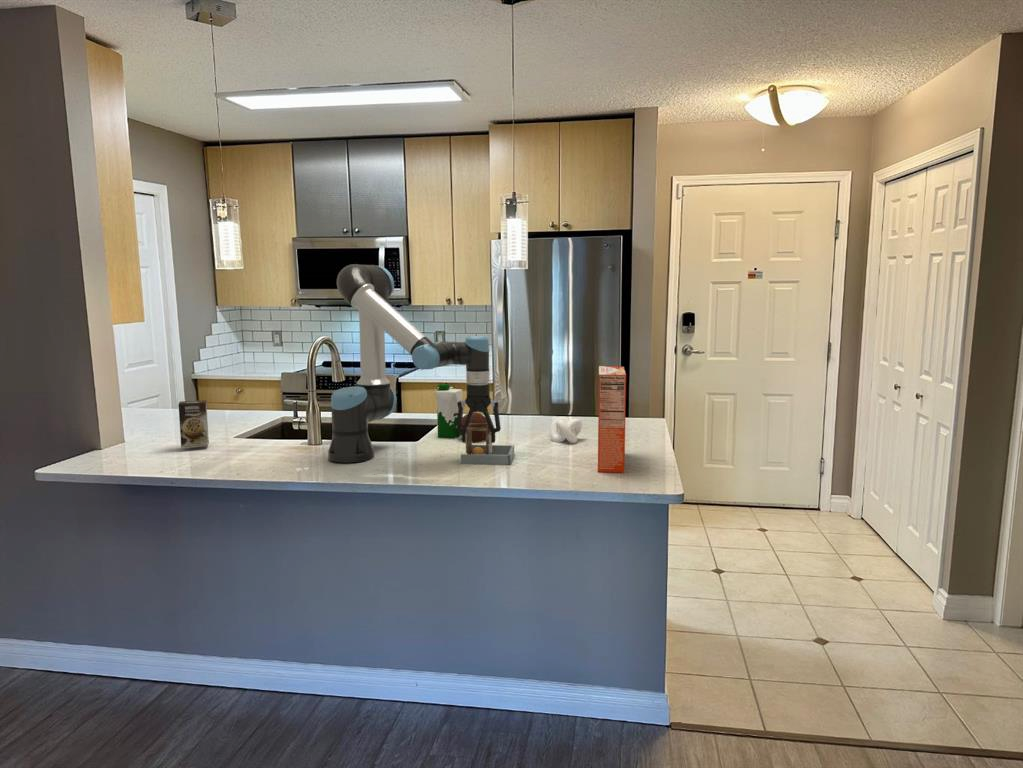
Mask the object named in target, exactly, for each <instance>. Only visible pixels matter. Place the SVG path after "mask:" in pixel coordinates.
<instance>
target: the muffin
mask: <svg viewBox="0 0 1023 768" xmlns="http://www.w3.org/2000/svg"><path fill="white" fill-rule="evenodd" d="M467 416H468V413H467V414H464V415H463V417H462V428H463V427H464V424H465V421H466V419H467ZM470 423H479V424H487V421H486V419H485V416H484V414H483V413H480V412H473V415H472V417H471V420H470ZM470 423H469V424H470ZM482 428H486V427H482ZM461 434H462V433H461ZM483 441H486V431H472V443H479V442H483Z"/></svg>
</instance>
